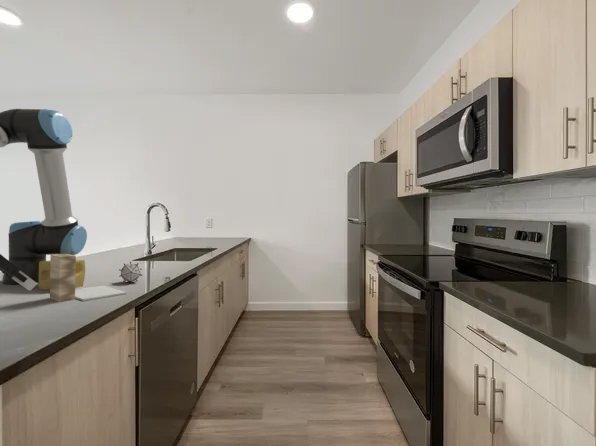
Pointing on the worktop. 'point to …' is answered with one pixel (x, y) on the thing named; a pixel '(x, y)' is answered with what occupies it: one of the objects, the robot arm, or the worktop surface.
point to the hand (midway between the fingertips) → (32, 286)
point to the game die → (130, 272)
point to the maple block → (62, 277)
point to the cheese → (45, 274)
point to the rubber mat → (96, 293)
